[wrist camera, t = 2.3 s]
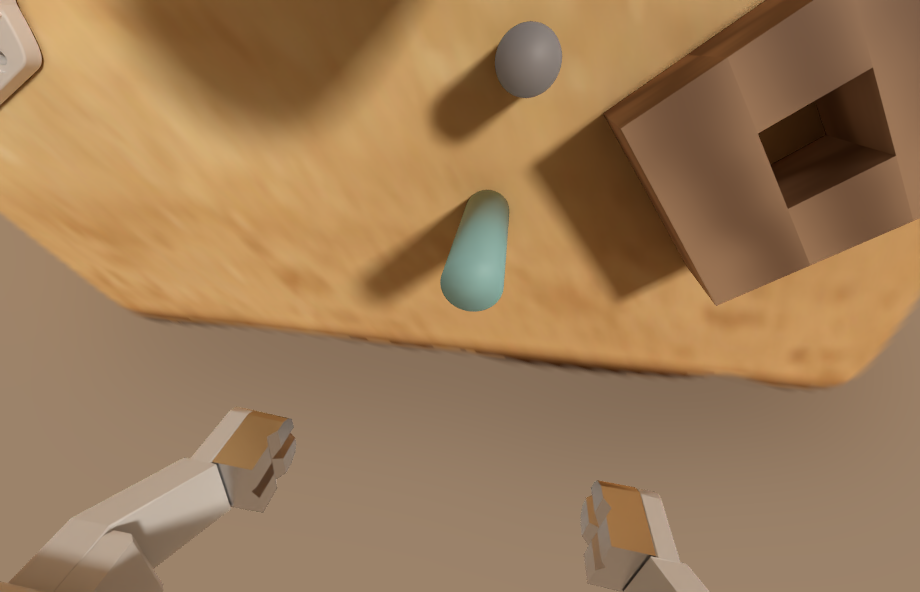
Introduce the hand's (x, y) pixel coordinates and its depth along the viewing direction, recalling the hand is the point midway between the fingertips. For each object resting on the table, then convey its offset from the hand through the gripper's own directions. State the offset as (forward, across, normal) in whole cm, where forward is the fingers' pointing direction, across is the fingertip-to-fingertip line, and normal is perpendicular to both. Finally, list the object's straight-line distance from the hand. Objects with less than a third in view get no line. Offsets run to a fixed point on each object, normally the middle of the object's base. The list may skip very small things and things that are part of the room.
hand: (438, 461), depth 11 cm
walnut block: (+20, -15, -8) cm, 26 cm away
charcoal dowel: (+20, 0, -9) cm, 22 cm away
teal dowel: (+20, 0, 0) cm, 20 cm away
